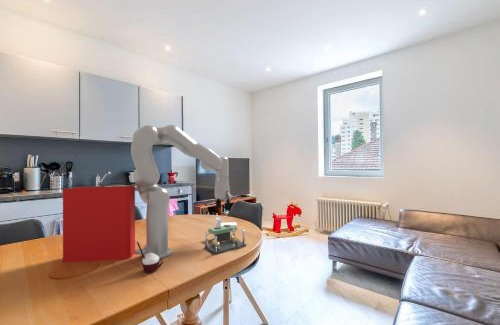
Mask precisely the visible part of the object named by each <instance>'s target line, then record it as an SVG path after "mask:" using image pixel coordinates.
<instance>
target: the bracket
mask: <svg viewBox="0 0 500 325" xmlns="http://www.w3.org/2000/svg"><path fill="white" fill-rule="evenodd" d="M229 224H230V225H232V226H235V227H236V230H237V229H238V223H237V222H236V221H234V222H233V221H231V222H230V221H229V222H222V219H221V217H220V216H216V217H215V227H219V226H224V225H229Z"/></svg>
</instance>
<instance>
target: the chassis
mask: <svg viewBox="0 0 500 325" xmlns="http://www.w3.org/2000/svg"><path fill="white" fill-rule="evenodd" d="M235 231H236V230H235V226H233V231H232V235H230V239H228V240H223V241H218V240H217V236H215V235H214V239H212V241H211V243H212V244H211V243H210V244H209V241H208V240H209V237H208V236H209V232H208V231H205V245H204V247H203V248H204V249H205V250H207V251H209V252H210V253H212V254H213V255H218V254H223V253H226V252H230V251H233V250H236V249H237V250H238V249H240V248H244V247H247V244H246V243H245V242H246V240H245V236H246V235H245V234H246V233H245V230H244V229H242V241H240V240H239V237H235V235H236V234H235Z"/></svg>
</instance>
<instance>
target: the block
mask: <svg viewBox="0 0 500 325" xmlns="http://www.w3.org/2000/svg"><path fill="white" fill-rule="evenodd" d="M215 236H217V242H220V241H222V240H223V241H224V240H226V239H231V232H226V233H222V234H217V235H214V237H215Z"/></svg>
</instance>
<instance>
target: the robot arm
mask: <svg viewBox="0 0 500 325" xmlns="http://www.w3.org/2000/svg"><path fill="white" fill-rule="evenodd" d="M132 138H133V139H132V141H131V145H130V155H131V158H132V162H133V164H134V167H135V169H134V171H133V172H132V173H133V174H132V175H133V176H132V178H133V181H134V184H135V188H136V189H137V192H138V194H139V196H140V199H141V200H142V202H143V203H144V204H146V206H147V207H146V216H145V225H146V226H145V228H146V229H145V230H146V231H145V232H146V234H145V237H146V238H145V241H146V242H145V245H144V247H142V248H141V250H142V252H143V254H144V256H145V255H146V254H147V253H154V254H156V255H157V256H158V257H159V260H161V259H163V258H167V257H169V256H171V254H172V252H173V251H172V249H171V248H170V247H169V206H170V199H171V198H170V194H169V192H168V190H167V189H166V188H164V187H162V186H159V185H158V183H159V180H160V178H161V175H160V172H159V169H158V166H157V164H156V161H155V157H154V155H153V145H154V146H156V145H164V144H165V145H166V144H171V146H173V147H175V148H176V149H177V150H178V151H180V152H181V153H182V154H184V155H186V156H188V157H190V158H195V159H197V160H199V161H200V167H201V169H203V170H204V171H215V172H214V174H215V183H214V199H215V200H214V201H215V208H216V209H218V208H220V209H221V208H222V200H223V201H224V211H226V212H227V211H230V210H231V201H232V197H233V195H232V194H231V188H230V178H229V177H230V173H229V170H230V169H229V166H230V165H229V158H228V157H226V156H219V155H218V154H217V153H216V152H214V151H213V150H212V149H210V148H208V147H207V146H204V145H203V144H201V143H199V142H197V141H196V140H194V139H193V138H191V136H189V135H188V134H187V133H185V131H183V130H182V129H181V128H179V127H178V126H176V125H174V124H169V125H166V126H162V127H161V126H160V127H155V126H154V125H151V124H149V125H147V124H146V125H143V126H142V127H139V128H137V129H136V130H135V131H134V132H133V137H132ZM134 255H140V256H141V255H142V253H141V251H140V249H138V248H137V249H135V254H134Z"/></svg>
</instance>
